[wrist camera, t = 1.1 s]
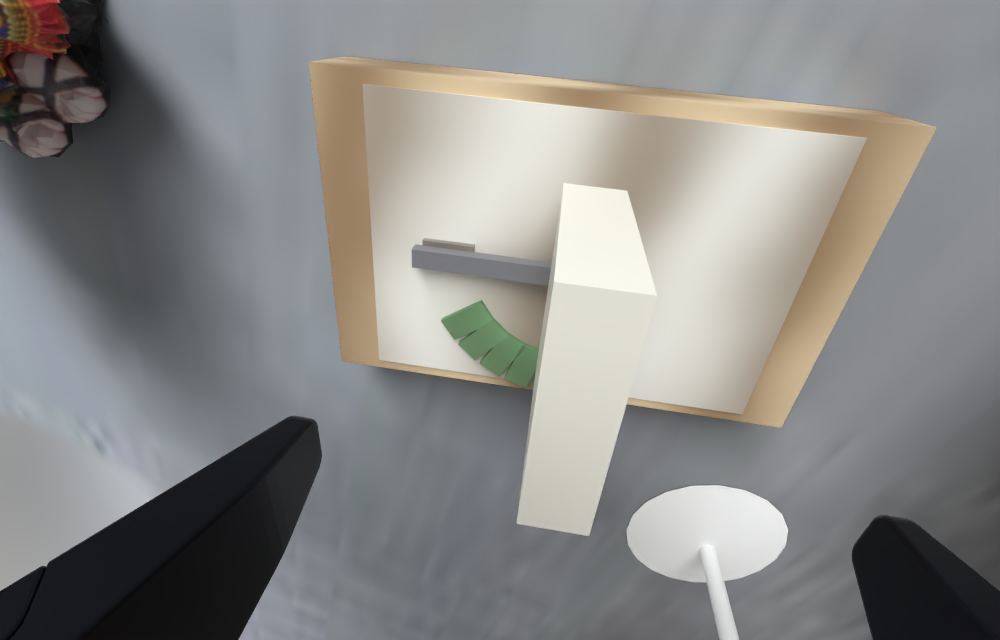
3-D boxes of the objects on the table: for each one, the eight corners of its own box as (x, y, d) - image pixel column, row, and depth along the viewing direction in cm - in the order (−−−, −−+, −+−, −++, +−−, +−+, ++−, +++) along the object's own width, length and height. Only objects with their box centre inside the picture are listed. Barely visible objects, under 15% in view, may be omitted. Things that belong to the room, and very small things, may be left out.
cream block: (623, 176, 13) (657, 295, 8) (585, 355, 17) (588, 536, 11) (416, 152, 14) (296, 246, 8) (417, 330, 17) (333, 491, 11)
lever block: (882, 111, 14) (944, 129, 12) (758, 383, 19) (784, 433, 17) (346, 56, 15) (303, 62, 13) (366, 326, 21) (338, 365, 18)
